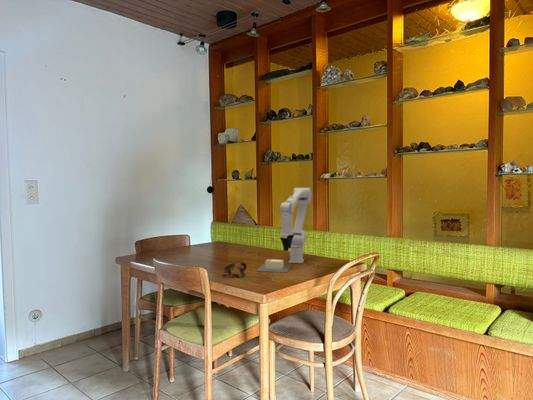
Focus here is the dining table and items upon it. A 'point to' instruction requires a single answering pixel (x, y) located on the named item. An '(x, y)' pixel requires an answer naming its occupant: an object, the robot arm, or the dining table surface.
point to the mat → (284, 270)
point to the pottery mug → (238, 266)
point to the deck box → (274, 264)
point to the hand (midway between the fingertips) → (287, 249)
